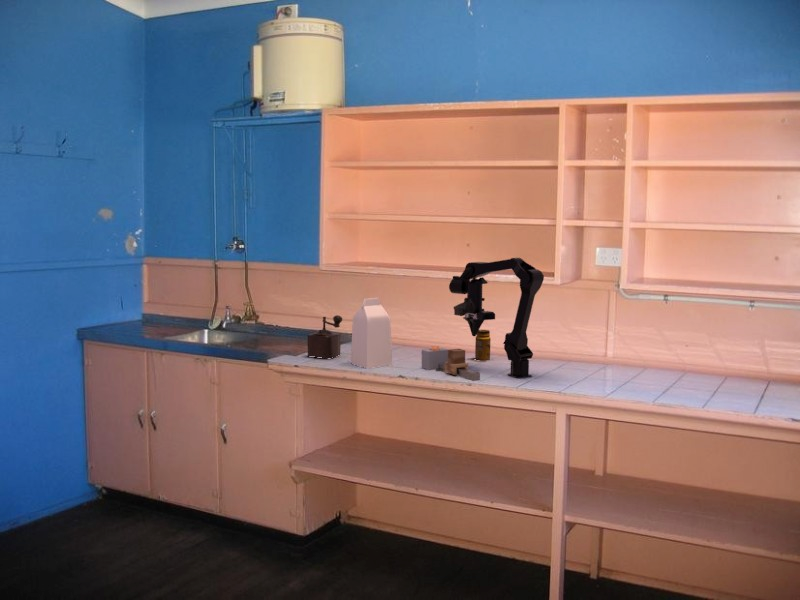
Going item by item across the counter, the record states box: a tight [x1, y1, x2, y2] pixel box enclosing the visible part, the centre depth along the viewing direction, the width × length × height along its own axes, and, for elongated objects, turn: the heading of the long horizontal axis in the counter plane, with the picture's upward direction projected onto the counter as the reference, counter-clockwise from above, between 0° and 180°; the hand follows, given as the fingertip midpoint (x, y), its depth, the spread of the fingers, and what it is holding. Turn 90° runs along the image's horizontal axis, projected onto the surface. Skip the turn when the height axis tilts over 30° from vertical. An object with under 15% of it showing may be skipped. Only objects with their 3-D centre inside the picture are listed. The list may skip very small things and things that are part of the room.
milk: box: [350, 297, 394, 369], centre depth 311 cm, size 12×12×26 cm
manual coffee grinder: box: [307, 314, 343, 359], centre depth 328 cm, size 16×11×18 cm
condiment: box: [467, 329, 494, 362], centre depth 325 cm, size 7×8×12 cm
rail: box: [435, 363, 481, 381], centre depth 294 cm, size 22×6×2 cm, turn 31°
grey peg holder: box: [421, 347, 449, 371], centre depth 307 cm, size 5×9×7 cm, turn 121°
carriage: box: [444, 348, 469, 376], centre depth 295 cm, size 6×6×8 cm
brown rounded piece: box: [430, 345, 440, 351], centre depth 307 cm, size 3×3×3 cm
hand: (474, 336), depth 305 cm, fingers closed
